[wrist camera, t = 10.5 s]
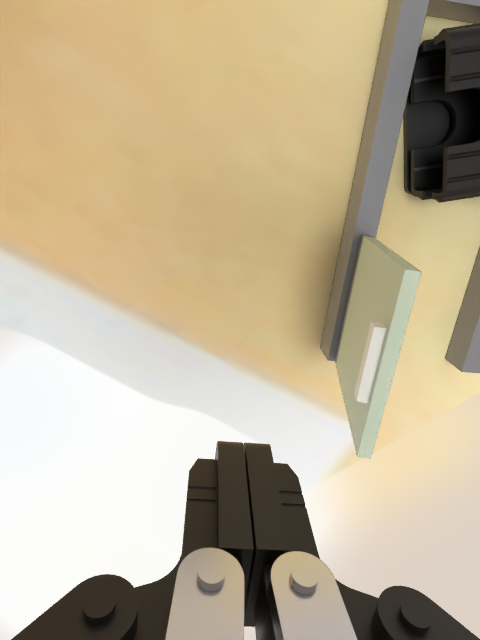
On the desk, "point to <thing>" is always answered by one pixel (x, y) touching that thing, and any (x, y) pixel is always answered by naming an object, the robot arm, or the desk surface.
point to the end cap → (444, 117)
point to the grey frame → (375, 165)
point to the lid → (373, 336)
